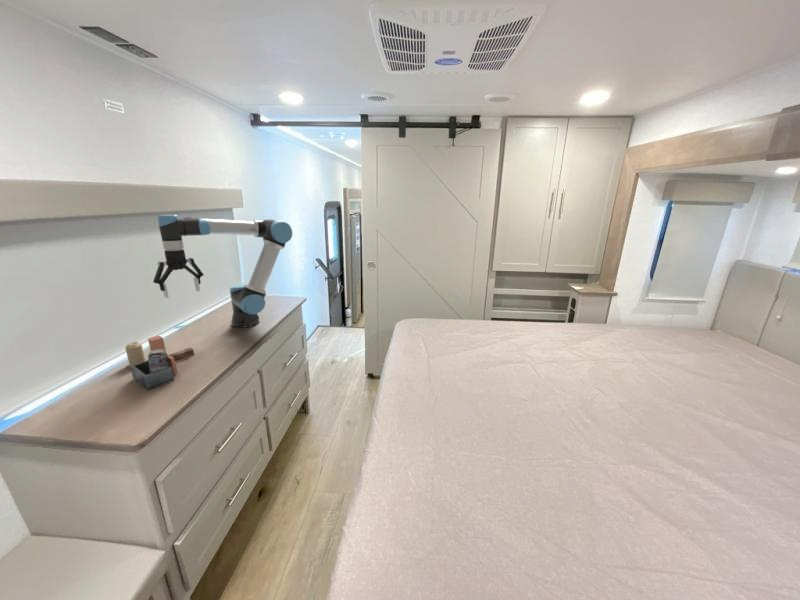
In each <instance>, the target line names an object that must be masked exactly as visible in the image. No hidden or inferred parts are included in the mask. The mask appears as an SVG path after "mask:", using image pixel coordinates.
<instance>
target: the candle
mask: <svg viewBox="0 0 800 600" xmlns="http://www.w3.org/2000/svg"><path fill="white" fill-rule="evenodd" d="M125 352H126V356H127V359H128V364H129V367H130V366H132V365H135V364H138V363H141V362H144V361H147V360H146V356H145V351H144V349H143V344H142V343H140V342H138V341H134V342H129V343H128V344H127V345H126V346H125Z"/></svg>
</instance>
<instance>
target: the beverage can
mask: <svg viewBox="0 0 800 600" xmlns="http://www.w3.org/2000/svg"><path fill="white" fill-rule="evenodd" d="M165 350H166V349H165ZM165 350H164V349H159V350H153V351H151V350H150V351H148V355H147V360H148V361H149V369H150V374H151V373H153V372H156V371H159V370H162V369H165V368H167V367H168V360H167V354H168V353H167V351H166V352H165Z"/></svg>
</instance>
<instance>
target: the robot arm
mask: <svg viewBox="0 0 800 600" xmlns="http://www.w3.org/2000/svg"><path fill="white" fill-rule="evenodd" d="M157 221H158V228H159V232H160V237H161V240H162V241H161V242H162V246H163V249H164V250H163V251H164V256H165V261H158V262H157V265H158V267H157V270H156V273H155V275H154V278H153V284H156V285H157V284H158V285H159V289H160V291H161V292H163V296H164V298H165V299H166V298H167V299H168V298H170V297H169V292H168V288H167V283H165V282H166V280H167V279H168V278H169V276H170V275H171V273H172V272H173V271H179V270H183V269H184V270H186V271H187V272H188V273H190V274H191V275H192V276H194V277H193V280H194V281H193V282H194V287H195V292H201V289H200V284H201V278H202V277H203V276H204V273H203V271H202V270H201V269H200V268H199V266H198V265H197V264H196V263H195V260H194V258H192V257H189V258H186V253H185V249H184V248H185V247H184V242H183V237H186V236H190V237H193V236H208V235H210V234H211V235H232V236H233V235H236V236H237V235H238V236H239V235H240V236H254V237H255V238H262V242H263V246H262V249H261V251H260V254H259V257H258V259H257V262H256V265H254V266H255V267H254V269H253V272H252V274H251V276H250V280H249V281H248V283H247V284H240V285H239V284H238V285H235V286H232V287H230V288H229V293H230V298H231V299H230V301H231V306H232V316H231V321H230V323H231V326H232V325H233V326H237V327H236V328H239V327H241V328H245V327H244V326H250V325H253V326H255V325H254V324H256V323H258V322H259V320H260V316H259V313H261V312H262V311H263V310H264V309H265V305H266V300H265V298H266V295H267V291H266V290H265V289H266V287H267V284H268V281H269V279H270V277H271V275H272V272H273V268H274V267H275V263H276V261H277V258H278V257H279V254H280V251H281V250H283V249H284V248H285V246H286V244H287V243H288V242H289V241H291V240H292V237H293V230H292V227H291V226H290V224H289V223H287V222H286V221H283V220H280V219H271V218H270V219H254V220H252V221H250V220H249V221H248V220H247V221H246V220H236V219H235V220H232V219H217V218H198V217H189V216H186V217H183V218H179V216H178V215H177V214H159V215H158V217H157ZM187 263H188V264H190V266H191V267H192V268H193V269H194V270H193V269H192V268H190V267H189V266H188V265H187ZM165 266H167V267H166V270H165V271H164V267H165ZM163 272H164V273H163ZM162 274H163V275H162ZM259 323H260V322H259ZM259 323H258V324H259ZM256 325H257V324H256ZM233 326H232V327H233ZM250 327H251V326H250Z"/></svg>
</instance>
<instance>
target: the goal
mask: <svg viewBox="0 0 800 600" xmlns="http://www.w3.org/2000/svg"><path fill="white" fill-rule="evenodd" d="M129 368H130V371H131V375H132V379H133V380H134V381H135V382H136V383H138V384H139V385H140V386H141V387H143V389H145V390H146V391H151V390H153V389H155V388H159V387H161V386H163V385H165V384H168V383H170V382H173V381H175V377H174V374H173V372H172V368H171V367H167V368H165V369H162V370H159V371H156V372H153V373H151V374H150V369H149V361H148V359H147V360H146V361H144V362H141V363H138V364H135V365H132V366H130V365H129Z"/></svg>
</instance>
